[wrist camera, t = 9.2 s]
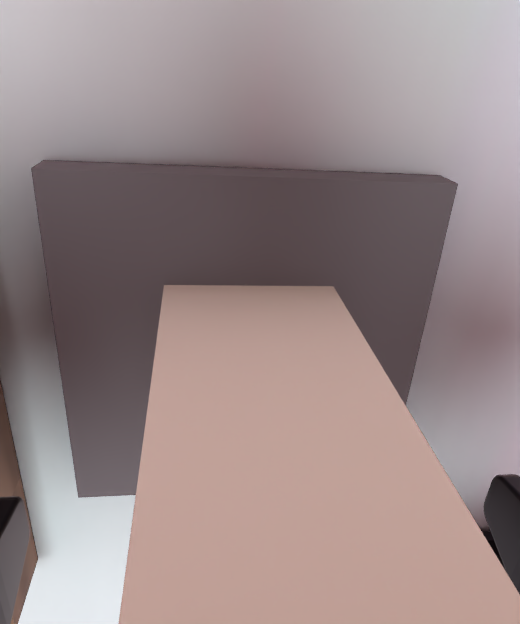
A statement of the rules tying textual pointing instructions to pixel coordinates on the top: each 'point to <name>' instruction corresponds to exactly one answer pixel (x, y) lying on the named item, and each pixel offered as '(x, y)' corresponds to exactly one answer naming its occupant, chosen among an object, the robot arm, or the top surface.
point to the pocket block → (7, 482)
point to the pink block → (293, 478)
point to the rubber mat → (217, 272)
